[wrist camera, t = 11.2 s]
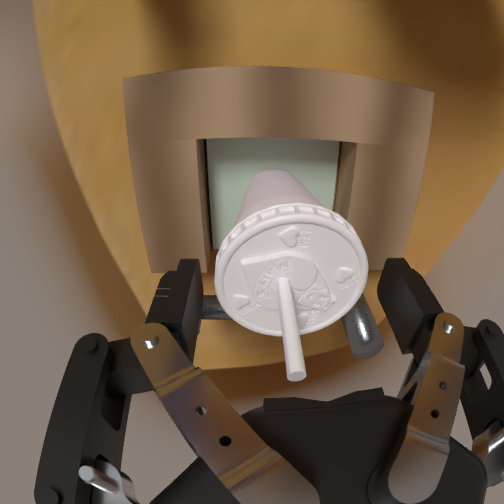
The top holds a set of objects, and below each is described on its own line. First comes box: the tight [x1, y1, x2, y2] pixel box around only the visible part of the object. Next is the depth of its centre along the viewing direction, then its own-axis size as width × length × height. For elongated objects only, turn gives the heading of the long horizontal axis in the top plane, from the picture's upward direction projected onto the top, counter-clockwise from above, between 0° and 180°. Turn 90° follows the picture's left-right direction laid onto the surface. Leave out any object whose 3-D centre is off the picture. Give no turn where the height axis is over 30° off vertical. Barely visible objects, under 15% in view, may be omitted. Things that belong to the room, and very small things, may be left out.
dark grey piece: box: [197, 292, 384, 359], centre depth 19 cm, size 13×2×9 cm, turn 90°
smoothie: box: [215, 168, 368, 381], centre depth 14 cm, size 6×6×14 cm
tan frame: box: [123, 66, 435, 273], centre depth 18 cm, size 18×13×3 cm
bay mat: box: [206, 138, 340, 249], centre depth 20 cm, size 9×9×1 cm
